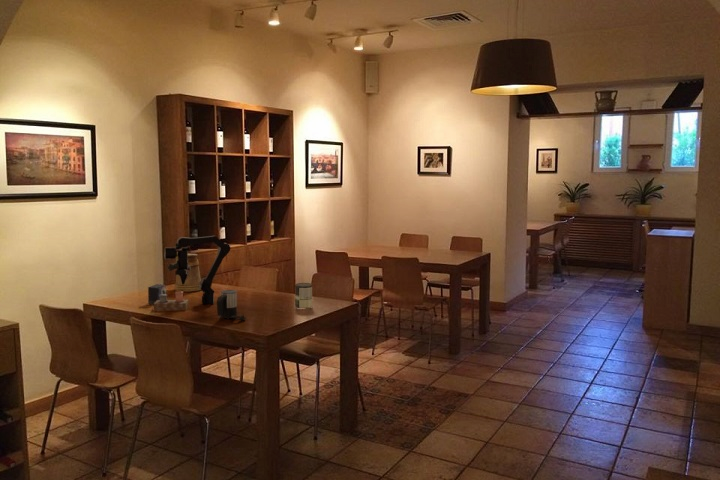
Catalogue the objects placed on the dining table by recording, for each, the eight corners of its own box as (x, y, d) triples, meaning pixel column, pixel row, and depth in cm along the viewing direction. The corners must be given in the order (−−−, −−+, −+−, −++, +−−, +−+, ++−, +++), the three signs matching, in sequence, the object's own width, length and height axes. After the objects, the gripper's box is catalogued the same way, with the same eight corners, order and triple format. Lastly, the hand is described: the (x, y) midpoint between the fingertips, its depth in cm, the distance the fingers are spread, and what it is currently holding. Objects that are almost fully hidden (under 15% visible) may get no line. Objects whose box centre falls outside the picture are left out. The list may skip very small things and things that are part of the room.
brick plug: (184, 304, 346) (183, 291, 346) (182, 306, 342) (182, 292, 341) (175, 304, 346) (175, 291, 345) (174, 306, 341) (174, 292, 340)
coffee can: (291, 308, 348) (291, 285, 346) (300, 305, 357) (300, 282, 355) (306, 310, 343) (306, 286, 342) (315, 306, 352) (315, 283, 351)
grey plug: (168, 307, 345) (167, 293, 344) (166, 309, 341) (166, 295, 340) (160, 307, 345) (159, 294, 344) (158, 309, 340) (158, 295, 339)
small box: (157, 304, 353) (157, 287, 351) (147, 304, 354) (147, 287, 353) (166, 301, 363) (166, 284, 362) (157, 300, 364) (156, 283, 363)
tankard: (186, 293, 385) (186, 256, 383) (164, 289, 399) (164, 252, 396) (208, 289, 400) (208, 253, 397) (186, 285, 414) (186, 250, 411)
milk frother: (224, 315, 329) (223, 289, 328) (251, 316, 328) (251, 290, 326) (214, 321, 315) (214, 294, 314) (243, 322, 314) (243, 295, 312)
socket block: (188, 306, 350) (188, 299, 349) (186, 310, 340) (186, 303, 339) (157, 306, 347) (156, 300, 346) (153, 310, 337) (153, 303, 337)
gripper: (171, 256, 356) (171, 281, 358) (165, 260, 338) (166, 287, 339) (190, 256, 358) (190, 281, 359) (185, 260, 339) (186, 287, 341)
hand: (183, 284), depth 350 cm, fingers closed
